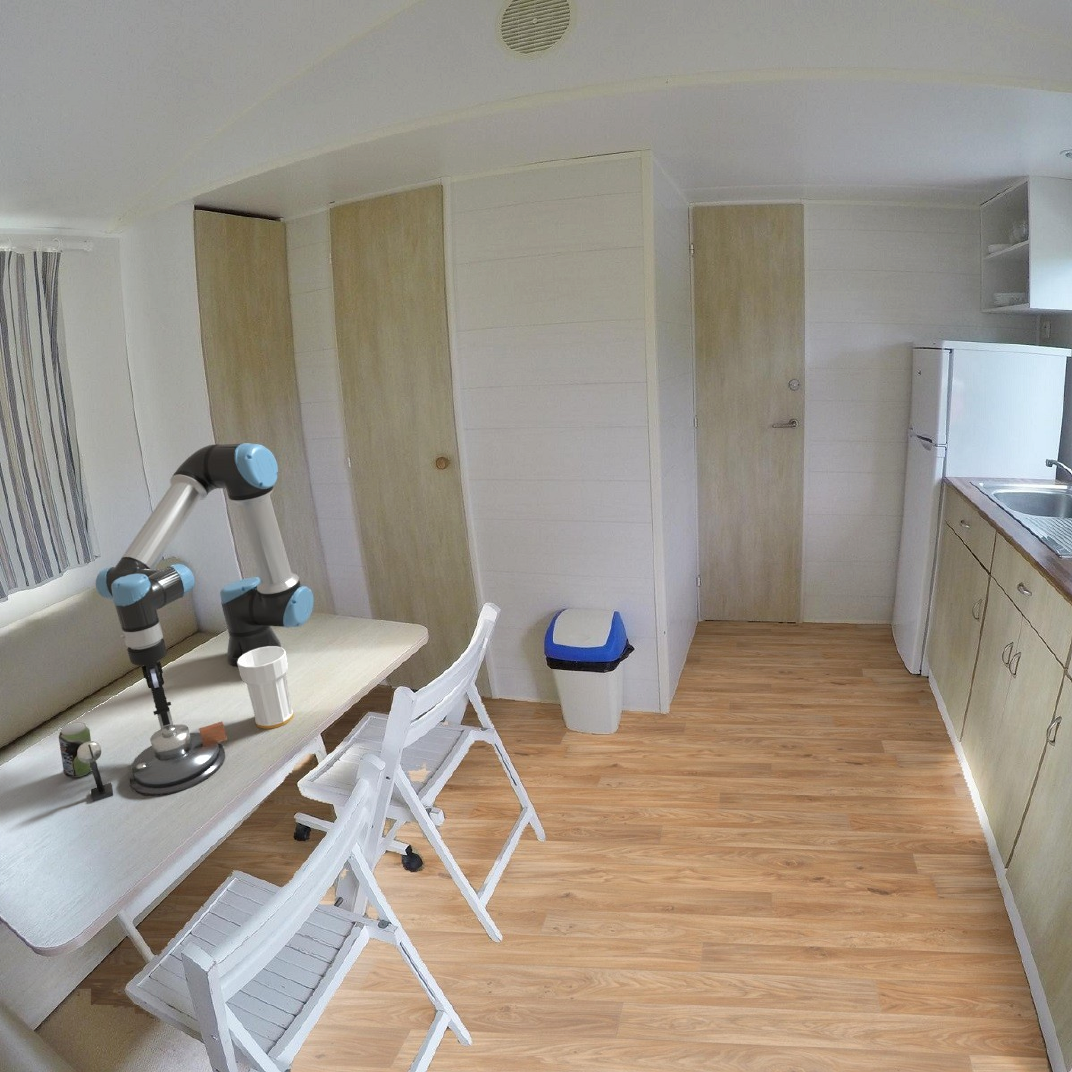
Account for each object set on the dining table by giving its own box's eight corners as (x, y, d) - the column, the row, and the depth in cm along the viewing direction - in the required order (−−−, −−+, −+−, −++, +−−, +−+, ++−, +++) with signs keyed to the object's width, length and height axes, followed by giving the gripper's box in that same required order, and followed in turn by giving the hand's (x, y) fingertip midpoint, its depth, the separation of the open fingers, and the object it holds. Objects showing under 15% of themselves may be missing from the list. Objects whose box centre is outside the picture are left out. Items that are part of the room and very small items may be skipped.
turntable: (130, 759, 177) (124, 735, 175) (221, 729, 187) (216, 706, 185) (137, 798, 162) (129, 773, 160) (235, 764, 172) (229, 739, 170)
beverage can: (73, 766, 179) (59, 721, 175) (105, 762, 179) (92, 717, 176) (59, 782, 173) (45, 736, 169) (93, 778, 173) (79, 732, 170)
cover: (153, 747, 177) (147, 726, 175) (190, 735, 181) (184, 715, 179) (155, 763, 170) (149, 742, 169) (194, 751, 174) (188, 730, 172)
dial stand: (90, 793, 168) (74, 740, 164) (113, 785, 170) (97, 733, 166) (91, 802, 164) (74, 749, 160) (114, 794, 166) (98, 742, 162)
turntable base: (127, 763, 178) (126, 759, 178) (217, 733, 187) (216, 730, 187) (133, 807, 161) (132, 803, 161) (232, 772, 171) (231, 768, 170)
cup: (241, 728, 189) (226, 664, 184) (271, 704, 199) (258, 643, 193) (278, 734, 185) (264, 669, 179) (307, 710, 195) (295, 648, 189)
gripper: (124, 637, 175) (149, 728, 183) (128, 658, 165) (154, 753, 172) (160, 628, 179) (183, 717, 186) (166, 647, 168) (190, 741, 175)
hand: (169, 734), depth 179 cm, fingers closed
